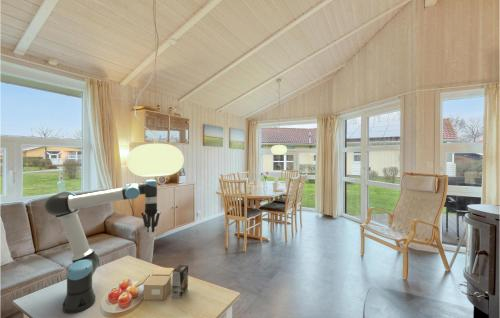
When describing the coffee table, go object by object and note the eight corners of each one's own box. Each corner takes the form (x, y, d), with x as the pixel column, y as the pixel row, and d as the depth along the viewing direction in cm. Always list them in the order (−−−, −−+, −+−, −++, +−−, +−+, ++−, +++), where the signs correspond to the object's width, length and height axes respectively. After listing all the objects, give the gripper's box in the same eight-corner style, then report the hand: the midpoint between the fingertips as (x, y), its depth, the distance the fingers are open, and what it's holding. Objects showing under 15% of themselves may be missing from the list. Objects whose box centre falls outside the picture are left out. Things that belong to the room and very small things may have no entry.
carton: (143, 300, 135) (143, 284, 135) (156, 281, 156) (157, 267, 156) (164, 300, 135) (164, 284, 135) (175, 281, 156) (175, 268, 156)
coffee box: (181, 299, 137) (181, 272, 137) (171, 297, 139) (172, 271, 139) (188, 290, 146) (188, 265, 146) (179, 289, 148) (179, 264, 148)
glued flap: (143, 283, 136) (129, 290, 136) (150, 275, 146) (137, 281, 146) (142, 282, 136) (129, 289, 136) (149, 274, 146) (136, 280, 146)
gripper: (138, 203, 152) (138, 238, 153) (158, 203, 152) (158, 238, 152) (144, 201, 160) (144, 234, 160) (163, 201, 159) (162, 235, 160)
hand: (150, 236), depth 156 cm, fingers closed
